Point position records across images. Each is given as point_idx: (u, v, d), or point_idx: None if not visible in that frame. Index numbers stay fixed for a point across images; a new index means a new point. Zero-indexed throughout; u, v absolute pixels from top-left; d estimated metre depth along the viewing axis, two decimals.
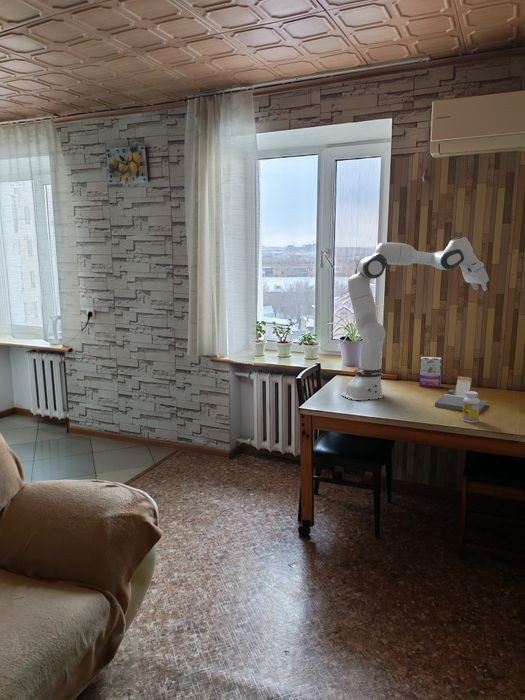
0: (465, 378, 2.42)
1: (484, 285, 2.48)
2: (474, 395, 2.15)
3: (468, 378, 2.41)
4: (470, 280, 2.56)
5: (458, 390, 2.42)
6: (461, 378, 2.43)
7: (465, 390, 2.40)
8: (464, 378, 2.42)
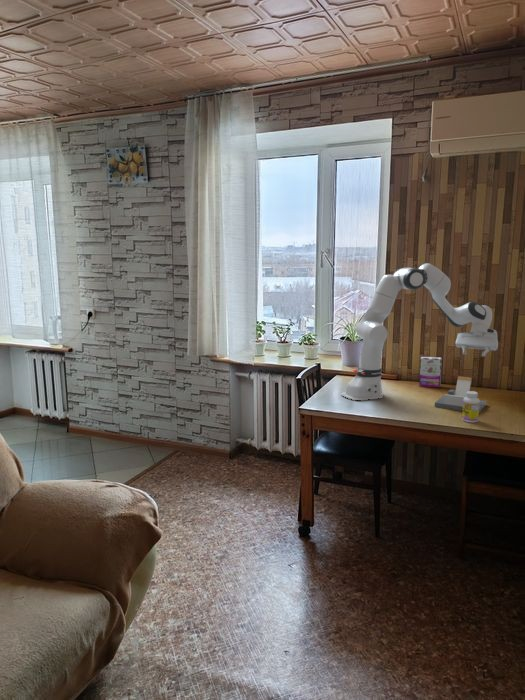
0: (465, 378, 2.42)
1: (487, 351, 2.52)
2: (474, 395, 2.15)
3: (468, 378, 2.41)
4: (470, 342, 2.57)
5: (458, 390, 2.42)
6: (461, 378, 2.43)
7: (465, 390, 2.40)
8: (464, 378, 2.42)
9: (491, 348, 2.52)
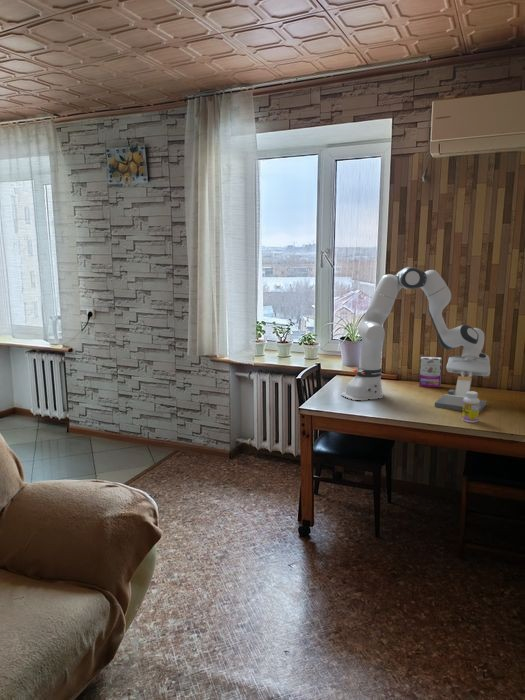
0: (465, 378, 2.42)
1: (471, 376, 2.44)
2: (474, 395, 2.15)
3: (468, 378, 2.41)
4: (461, 367, 2.47)
5: (458, 390, 2.41)
6: (461, 378, 2.42)
7: (465, 390, 2.40)
8: (464, 378, 2.42)
9: (483, 374, 2.42)
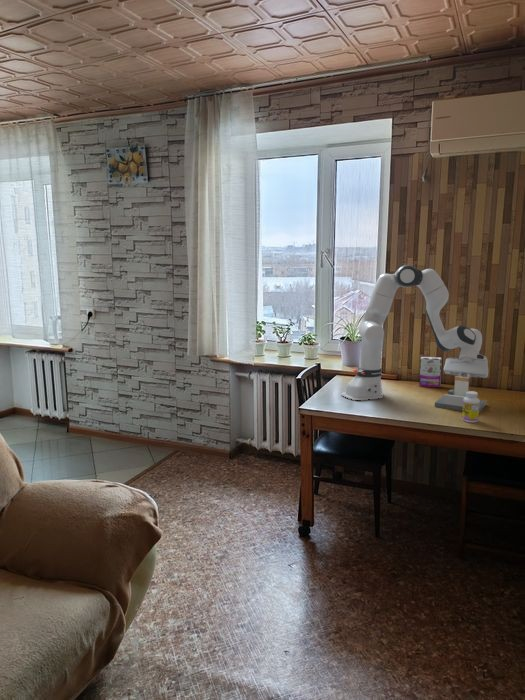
0: (462, 379, 2.37)
1: None
2: (474, 395, 2.15)
3: (465, 379, 2.36)
4: (458, 368, 2.42)
5: (457, 391, 2.40)
6: (458, 379, 2.38)
7: (464, 391, 2.38)
8: (461, 379, 2.37)
9: (481, 375, 2.37)
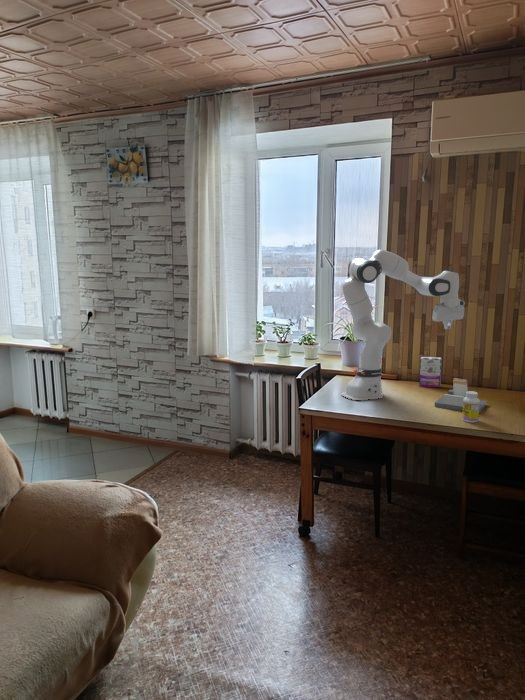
0: (460, 382, 2.34)
1: None
2: (474, 395, 2.15)
3: (463, 382, 2.34)
4: (447, 317, 2.55)
5: (456, 392, 2.39)
6: (456, 382, 2.36)
7: (463, 393, 2.37)
8: (459, 382, 2.35)
9: None
